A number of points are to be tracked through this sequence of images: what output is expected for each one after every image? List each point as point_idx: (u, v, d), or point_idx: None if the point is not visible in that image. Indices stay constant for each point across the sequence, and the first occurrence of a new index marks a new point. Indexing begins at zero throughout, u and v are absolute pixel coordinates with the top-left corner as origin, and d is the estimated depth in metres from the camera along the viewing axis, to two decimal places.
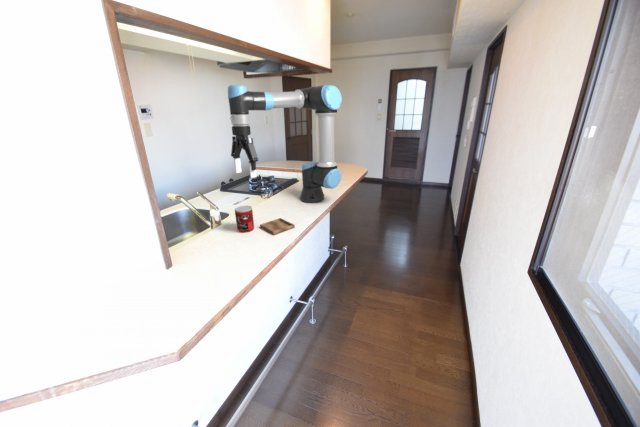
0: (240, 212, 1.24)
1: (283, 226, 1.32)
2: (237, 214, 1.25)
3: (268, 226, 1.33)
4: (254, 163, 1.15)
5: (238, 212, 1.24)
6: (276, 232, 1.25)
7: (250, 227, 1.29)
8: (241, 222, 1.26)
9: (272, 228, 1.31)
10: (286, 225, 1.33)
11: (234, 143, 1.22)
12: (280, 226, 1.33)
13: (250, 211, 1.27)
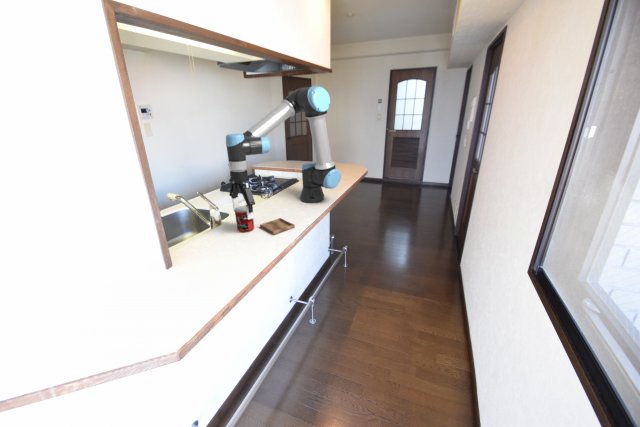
0: (240, 212, 1.24)
1: (283, 226, 1.32)
2: (237, 214, 1.25)
3: (268, 226, 1.33)
4: (251, 206, 1.21)
5: (238, 212, 1.24)
6: (276, 232, 1.25)
7: (250, 227, 1.29)
8: (241, 222, 1.26)
9: (272, 228, 1.31)
10: (286, 225, 1.33)
11: (232, 185, 1.27)
12: (280, 226, 1.33)
13: None
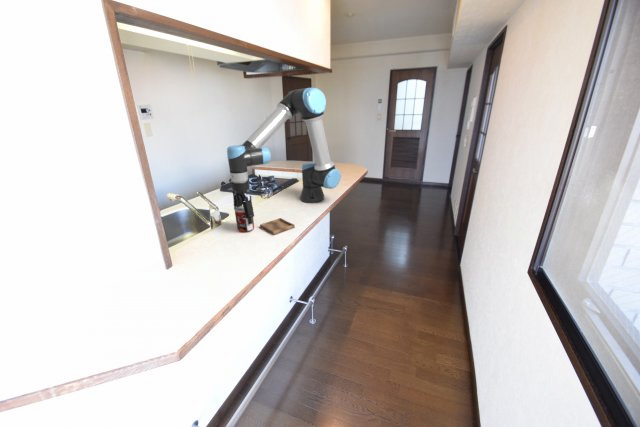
0: (240, 212, 1.24)
1: (283, 226, 1.32)
2: (237, 214, 1.25)
3: (268, 226, 1.33)
4: (250, 218, 1.25)
5: (238, 212, 1.24)
6: (276, 232, 1.25)
7: None
8: (241, 222, 1.26)
9: (272, 228, 1.31)
10: (286, 225, 1.33)
11: (235, 197, 1.29)
12: (280, 226, 1.33)
13: None
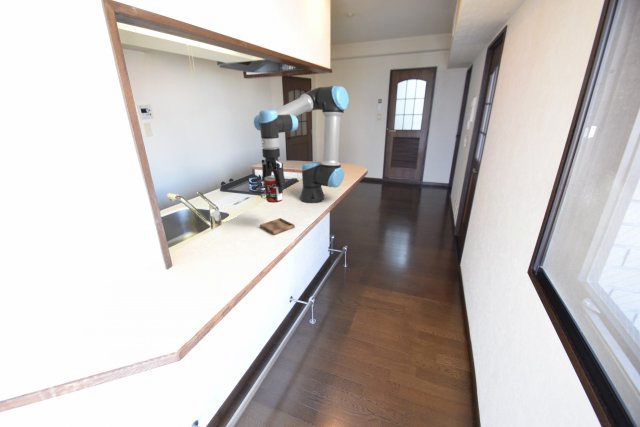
0: (270, 180, 1.20)
1: (283, 226, 1.32)
2: (267, 183, 1.21)
3: (268, 226, 1.33)
4: (281, 187, 1.21)
5: (268, 180, 1.20)
6: (276, 232, 1.25)
7: None
8: (271, 191, 1.22)
9: (272, 228, 1.31)
10: (286, 225, 1.33)
11: (264, 166, 1.25)
12: (280, 226, 1.33)
13: None
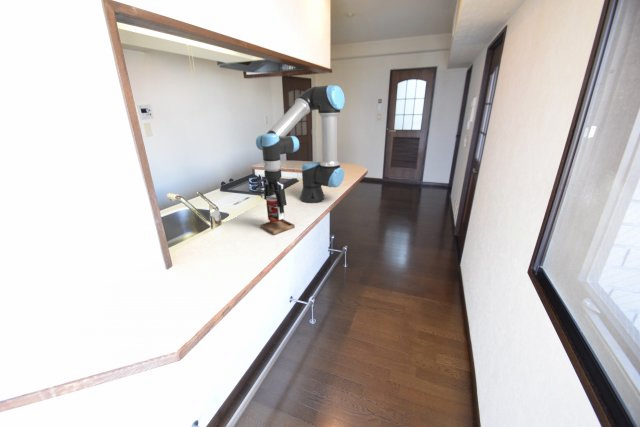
0: (272, 201, 1.24)
1: (283, 226, 1.32)
2: (269, 203, 1.24)
3: (268, 226, 1.33)
4: (282, 207, 1.24)
5: (270, 201, 1.24)
6: (276, 232, 1.25)
7: None
8: (272, 211, 1.25)
9: (272, 228, 1.31)
10: (286, 225, 1.33)
11: (266, 186, 1.29)
12: (280, 226, 1.33)
13: None
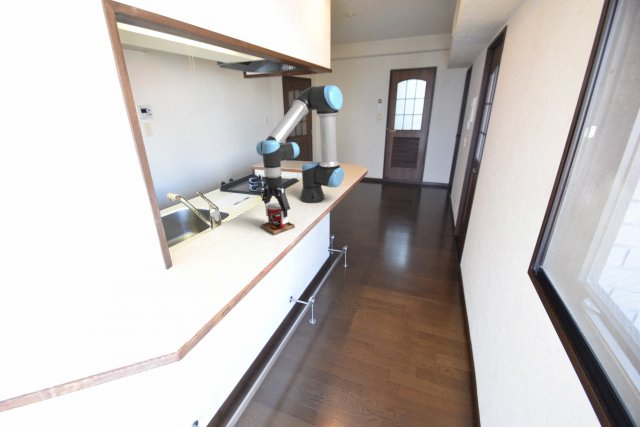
0: (273, 209, 1.25)
1: None
2: (270, 211, 1.26)
3: (268, 226, 1.33)
4: (286, 211, 1.23)
5: (271, 209, 1.25)
6: (276, 232, 1.25)
7: (282, 224, 1.30)
8: (273, 219, 1.27)
9: None
10: (286, 225, 1.33)
11: (265, 190, 1.30)
12: None
13: None
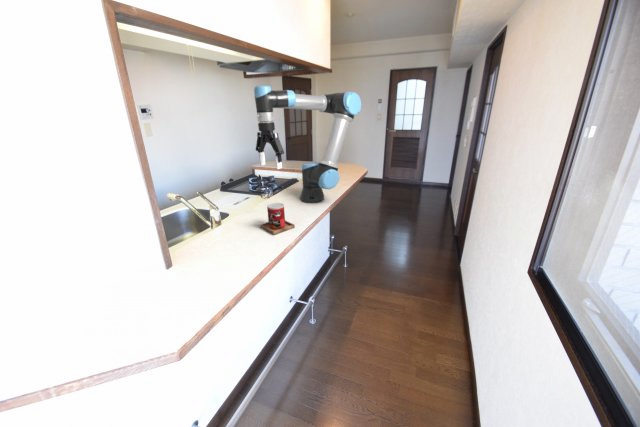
0: (273, 209, 1.25)
1: None
2: (270, 211, 1.26)
3: (268, 226, 1.33)
4: (280, 155, 1.28)
5: (271, 209, 1.25)
6: (276, 232, 1.25)
7: (282, 224, 1.30)
8: (273, 219, 1.27)
9: None
10: (286, 225, 1.33)
11: (259, 138, 1.34)
12: None
13: (282, 208, 1.28)
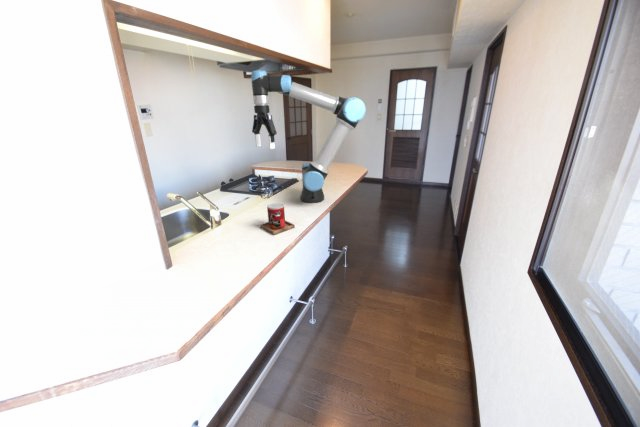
0: (273, 209, 1.25)
1: None
2: (270, 211, 1.26)
3: (268, 226, 1.33)
4: (273, 136, 1.38)
5: (271, 209, 1.25)
6: (276, 232, 1.25)
7: (282, 224, 1.30)
8: (273, 219, 1.27)
9: None
10: (286, 225, 1.33)
11: (255, 121, 1.45)
12: None
13: (282, 208, 1.28)
